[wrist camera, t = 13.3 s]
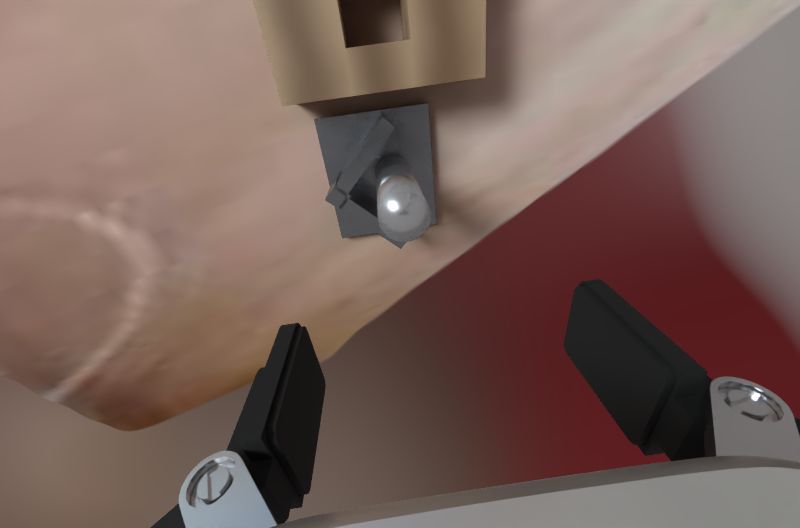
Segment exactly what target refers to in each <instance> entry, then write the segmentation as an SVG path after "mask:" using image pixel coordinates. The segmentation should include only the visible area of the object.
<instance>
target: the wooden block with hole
mask: <svg viewBox="0 0 800 528" xmlns="http://www.w3.org/2000/svg"><path fill="white" fill-rule="evenodd" d="M253 2H254V6H255V10H256V13H257V17H258V20H259V24H260V28H261V31H262V35H263V38H264V42H265V46H266V49H267V53H268V57H269V60H270V64H271V67H272V71H273V75H274V78H275V82H276V85H277V89H278V93H279V96H280V100H281V103H282V106H287V105H294V104H301V103H308V102H315V101H322V100H329V99H336V98H343V97H350V96H357V95H364V94H371V93H379V92H386V91H393V90H400V89H407V88H414V87H421V86H428V85H435V84H442V83H449V82H456V81H463V80H470V79H477V78H484V77H485V68H486V0H400V10H401V21H402V31H403V40H401V41H394V42H387V43H380V44H373V45H366V46H358V47H351V48H348V44H347V38H346V32H345V26H344V20H343V14H342V8H341V3H340V0H253Z"/></svg>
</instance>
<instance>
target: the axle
mask: <svg viewBox="0 0 800 528" xmlns="http://www.w3.org/2000/svg"><path fill="white" fill-rule="evenodd" d="M375 177H376V194H377V210H378V222H379V226H380V228H381V230H382V232H383V233H384V234H385V235H386V236H387V237H389V238H390V239H392V240H395V241H399V242H408V241H412V240H415V239H417V238H419V237H420V236H421V235H423V234H424V232H425V231H426V230H427V228H428V227H429V224H430V221H431V211H430V208H429V205H428V203H427V201H426V199H425V197H424V195H423V193H422V191H421V189H420V187H419V185H418V183H417V181H416V179H415V177H414V175H413V173H412V171H411V168H410V166H409V165H408V163H407V162H406V161H405V160H404V159H403V158H401V157H398V156H389V157H386V158H384V159H383V160H381V161H380V163H379V164H378V166H377V168H376V172H375Z"/></svg>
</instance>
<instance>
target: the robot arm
mask: <svg viewBox="0 0 800 528" xmlns="http://www.w3.org/2000/svg"><path fill="white" fill-rule="evenodd" d="M564 348H565V351H566V353H567V354H568V356H569V357H570V359H571V360H572V361H573V363H574V364H575V366H576V367H577V368H578V370H579V371H580V373H581V374H582V375H583V377H584V378H585V380H586V381H587V382H588V384H589V385H590V387H591V388H592V389H593V391H594V392H595V394H596V395H597V396H598V398H599V399H600V401H601V402H602V403H603V405H604V406H605V408H606V409H607V410H608V412H609V413H610V414H611V416H612V417H613V419H614V420H615V421H616V423H617V424H618V426H619V427H620V428H621V430H622V431H623V433H624V434H625V435H626V437H627V438H628V440H629V441H630V442H631V443H632V444H634V445H638V446H639V448H640V449H641V451H642V452H643V454H644V455H645V456H646V455H653V454H659V453H664V452H665V454H666V455H667V456H668V457H669V459H670V460H671V461H670V462H662V463H654V464H646V465H639V466H632V467H625V468H618V469H611V470H605V471H597V472H590V473H583V474H576V475H570V476H563V477H556V478H549V479H543V480H536V481H529V482H522V483H516V484H509V485H503V486H496V487H489V488H483V489H477V490H469V491H463V492H457V493H450V494H444V495H438V496H431V497H424V498H418V499H412V500H405V501H398V502H392V503H385V504H379V505H373V506H367V507H361V508H355V509H350V510H344V511H338V512H332V513H327V514H322V515H316V516H311V517H307V518H302V519H298V520H294V521H290V522H286V523H285V521H286V520H287V519H288V517H289V512H290V509H293V508H299V507H302V504H303V497H304V494H308V493H309V491H310V487H311V480H312V474H313V468H314V461H315V454H316V447H317V441H318V434H319V427H320V421H321V414H322V406H323V400H324V394H325V379H324V376H323V373H322V370H321V368H320V365H319V362H318V359H317V356H316V354H315V351H314V348H313V345H312V343H311V340H310V337H309V334H308V331H307V329H306V327H305V326H303V327H301V326H300V324H299V323H294V324H288V325H282V326H281V327H280V328H279V331H278V334H277V336H276V339H275V342H274V345H273V347H272V350H271V353H270V355H269V358H268V361H267V363H266V366H265V367H264V368H261V369H259V370H258V372H257V374H256V376H255V379H254V382H253V384H252V387H251V389H250V392H249V394H248V397H247V399H246V402H245V405H244V407H243V410H242V412H241V415H240V417H239V420H238V422H237V425H236V428H235V430H234V433H233V435H232V438H231V441H230V443H229V446H228V448H227V451H221V452H218V453H215V454H213V455H211V456H209V457H208V458H206V459H204V460H203V461H202V462H201V463H200V464H198V465H197V466H196V467H195V468H194V469H193V470H192V472H191V473H190V474H189V475H188V477H187V478H186V480H185V482H184V484H183V485H182V488H181V491H180V495H179V504H178V505H176V506H175V507H174V508H173V509H172V510H171V511H169V512H168V513H167V514H166V515H165V516H164V517H162V518H161V519H160V520H159V521H158V522H157V523H156V524H154V525H153V526H152V527H151V528H800V419H797V418H795V417H794V416H793V414H792V412H791V410H790V409H789V406H788V405H787V404H786V403H785V402H783V400H782V399H781V398H779V397H778V396H776V395H775V394H774V393H772V392H771V391H769V390H768V389H766V388H764V387H762V386H760V385H758V384H756V383H753V382H750V381H747V380H745V379H740V378H735V377H720V378H716V379H715V380H712V379H710V378H709V377H708V376H707V375H706V374H707V371H706V370H705V369H704V368H703V367H701V366H700V365H699V364H698V363H697V362H696V361H695V360H694V359H692V358H691V357H690V356H689V355H688V354H686V353H685V352H684V351H683V350H682V349H681V348H679V347H678V346H677V345H676V344H675V343H674V342H673V341H672V340H670V339H669V338H668V337H667V336H666V335H665V334H663V333H662V332H661V331H660V330H659V329H658V328H657V327H655V326H654V325H653V324H652V323H651V322H650V321H648V320H647V319H646V318H645V317H644V316H643V315H641V314H640V313H639V312H638V311H637V310H636V309H635V308H633V307H632V306H631V305H630V304H629V303H628V302H627V301H625V300H624V299H623V298H622V297H621V296H620V295H618V294H617V293H616V292H615V291H614V290H613V289H612V288H610V287H609V286H608V285H607V284H606V283H605V282H603V281H602V280H600V279H595V280H589V281H583V282H580V284H579V286H577V287H576V288H575V290H574V294H573V299H572V304H571V310H570V315H569V320H568V325H567V330H566V335H565V341H564Z"/></svg>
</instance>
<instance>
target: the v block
mask: <svg viewBox="0 0 800 528" xmlns="http://www.w3.org/2000/svg"><path fill="white" fill-rule="evenodd" d="M314 121H315V125H316V129H317V134H318V138H319V142H320V146H321V151H322V155H323V159H324V163H325V168H326V172H327V176H328V180H329V184H330V189H329V191H328V194H327V196H326V199H325V200H326V201H328V202H329V203H331V204H332V205H334V206H335V210H336V214H337V218H338V223H339V227H340V231H341V235H342V238H347V237H354V236H361V235H368V234H374V233H378V234H379V235H381V236H382V237H384V238H385V239H387V240H388V241H390V242H391V243H393V244H394V245H396V246H397V247H399V248H400V249H401V248H402V247H403V246H404V244H405V243H406V242H399V241H395V240H392V239H390V238H389V237H387V236H386V235H385V234H384V233H383V232H382V230H381V228H380V226H379V222H378V210H377V194H376V177H375V172H376V168H377V166H378V164H379V163H380V161H381V160H383V159H384V158H386V157H389V156H398V157H401V158H403V159H404V160H405V161H406V162H407V163H408V165H409V166H410V168H411V171H412V173H413V175H414V177H415V179H416V181H417V183H418V185H419V187H420V189H421V191H422V193H423V195H424V197H425V199H426V201H427V203H428V205H429V208H430V211H431V221H430V224H429V225H435V224H437V223H436V209H435V195H434V180H433V166H432V151H431V137H430V123H429V108H428V103H422V104H415V105H408V106H401V107H394V108H387V109H380V110H373V111H366V112H359V113H352V114H345V115H338V116H331V117H324V118H317V119H314Z"/></svg>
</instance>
